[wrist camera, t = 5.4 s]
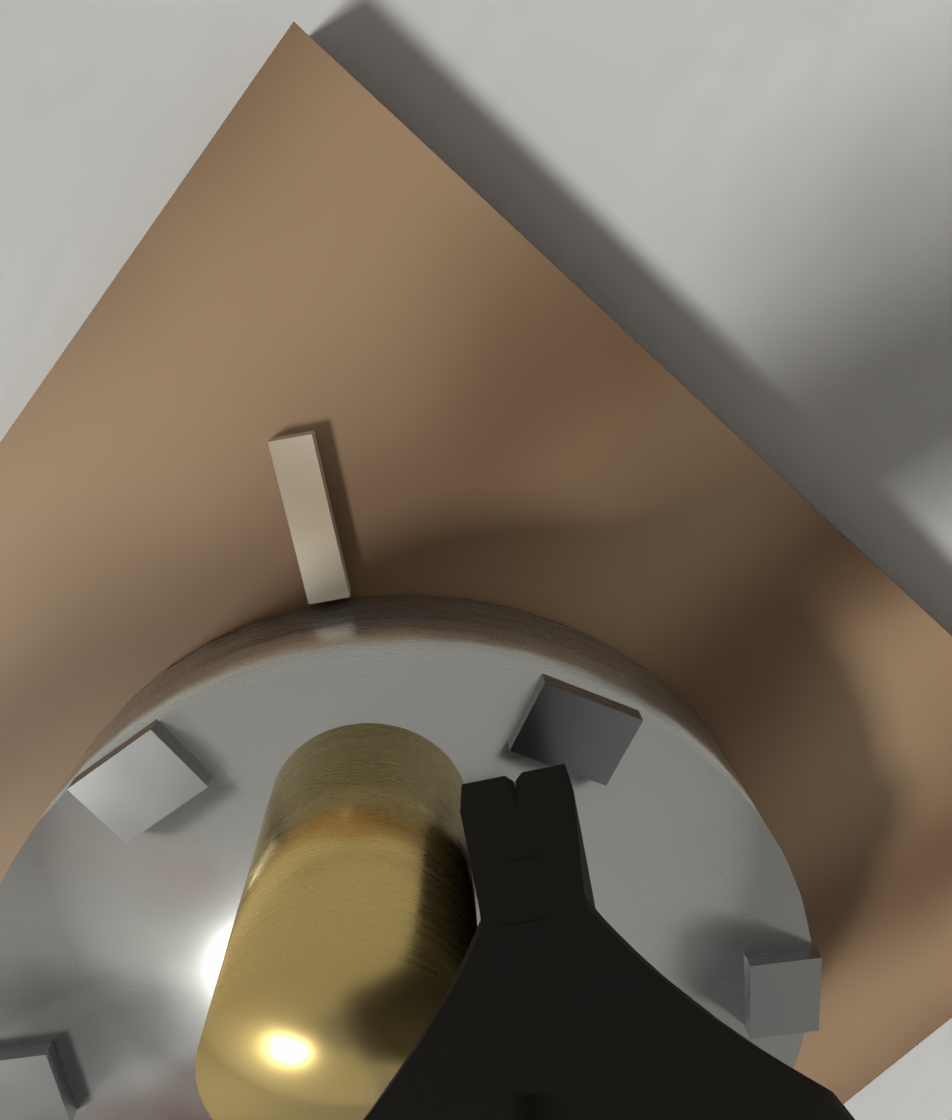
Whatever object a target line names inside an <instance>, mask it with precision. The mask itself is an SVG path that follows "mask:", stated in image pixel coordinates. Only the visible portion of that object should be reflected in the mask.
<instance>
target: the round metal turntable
mask: <svg viewBox="0 0 952 1120" xmlns="http://www.w3.org/2000/svg"><path fill="white" fill-rule="evenodd" d="M561 764H565V766H566V769H567V772H568V775H569V778H570V781H571V784H572V787H573V790H574V795H575V801H576V806H577V811H578V817H579V822H580V828H581V833H582V838H583V844H584V849H585V854H586V860H587V865H588V870H589V876H590V881H591V886H592V892H593V897H594V902H595V908H596V910H597V911H598V912H599V913H600V914H601V916H602V917H603V918H604V919H605V920H606V921H607V922H608V923H609V924H610V925H611V926H612V927H613V928H614V929H615V930H616V931H617V932H618V933H619V934H620V935H621V936H622V937H623V938H624V939H625V940H626V941H627V942H628V943H629V944H630V945H631V946H632V947H633V948H634V949H635V950H636V951H637V952H638V953H639V954H640V955H641V956H642V957H643V958H644V959H646V960H647V961H648V962H649V963H650V964H651V965H652V966H653V967H654V968H655V969H657V970H658V971H659V972H660V973H661V974H662V975H663V976H664V977H666V978H667V979H668V980H669V981H671V982H672V983H673V984H674V985H676V986H677V987H678V988H680V989H681V990H682V991H683V992H685V993H686V994H687V995H688V996H690V997H691V998H692V999H693V1000H695V1001H696V1002H697V1003H698V1004H700V1005H701V1006H702V1007H703V1008H705V1009H706V1010H707V1011H709V1012H710V1013H711V1014H712V1015H714V1016H715V1017H716V1018H717V1019H719V1020H720V1021H722V1022H723V1023H724V1024H726V1025H727V1026H729V1027H730V1028H732V1029H733V1030H735V1031H736V1032H737V1033H739V1034H740V1035H742V1036H743V1037H745V1038H746V1039H748V1040H749V1041H750V1042H752V1043H753V1044H755V1045H756V1046H758V1047H759V1048H761V1049H762V1050H764V1051H765V1052H767V1053H769V1054H770V1055H772V1056H773V1057H775V1058H777V1059H778V1060H780V1061H781V1062H783V1063H784V1064H786V1065H788V1066H790V1067H791V1068H794V1065H795V1063H796V1061H797V1058H798V1054H799V1051H800V1047H801V1044H802V1040H803V1037H804V1033H805V1032H811V1031H819V1016H820V993H821V969H822V957H821V955H820V953H819V951H818V950H817V948H816V946H815V944H811V937H810V933H809V928H808V923H807V919H806V914H805V910H804V905H803V901H802V897H801V894H800V892H799V889H798V887H797V884H796V882H795V879H794V877H793V874H792V872H791V869H790V867H789V865H788V862H787V860H786V857H785V855H784V854H783V852H782V850H781V849H780V847H779V845H778V844H777V842H776V840H775V839H774V837H773V835H772V834H771V832H770V830H769V829H768V827H767V825H766V824H765V822H764V820H763V819H762V817H761V815H760V814H759V812H758V810H757V809H756V807H755V805H754V804H753V802H752V801H751V799H750V797H749V796H748V794H747V792H746V791H745V789H744V787H743V786H742V784H741V782H740V781H739V779H738V777H737V776H736V774H735V772H734V771H733V769H732V767H731V766H730V764H729V763H728V761H727V759H726V758H725V756H724V754H723V753H722V751H721V749H720V748H719V746H718V745H717V743H716V741H715V740H714V738H713V736H712V735H711V733H710V732H709V731H708V730H707V729H706V728H705V726H704V725H703V724H702V723H701V722H700V720H699V719H698V718H697V717H696V716H695V715H694V713H693V712H692V711H691V710H690V709H689V708H688V706H687V705H686V704H685V703H684V702H683V701H682V700H681V699H680V698H679V697H678V696H677V695H676V694H674V693H673V692H672V691H671V690H670V689H669V688H668V687H666V686H665V685H664V684H663V683H662V682H661V681H660V680H658V679H657V678H656V677H655V676H654V675H653V674H652V673H650V672H649V671H648V670H646V669H645V668H643V667H642V666H640V665H639V664H637V663H636V662H634V661H633V660H631V659H629V658H628V657H626V656H625V655H623V654H622V653H620V652H619V651H617V650H616V649H614V648H613V647H611V646H610V645H608V644H605V643H603V642H601V641H599V640H597V639H595V638H593V637H591V636H589V635H587V634H584V633H582V632H580V631H578V630H576V629H574V628H572V627H570V626H568V625H566V624H563V623H560V622H557V621H554V620H551V619H548V618H544V617H541V616H538V615H535V614H532V613H529V612H526V611H523V610H520V609H517V608H512V607H507V606H502V605H496V604H491V603H486V602H481V601H476V600H470V599H465V598H451V597H436V596H421V595H399V596H381V597H363V598H353V599H348V600H342V601H337V602H331V603H325V604H320V605H314V606H309V607H304V608H300V609H297V610H294V611H291V612H288V613H284V614H281V615H278V616H275V617H271V618H268V619H265V620H262V621H258V622H255V623H253V624H250V625H248V626H246V627H244V628H242V629H240V630H237V631H235V632H233V633H231V634H229V635H226V636H224V637H222V638H220V639H218V640H215V641H213V642H211V643H209V644H207V645H205V646H203V647H202V648H200V649H199V650H197V651H196V652H194V653H192V654H191V655H189V656H188V657H186V658H184V659H183V660H181V661H180V662H178V663H176V664H175V665H173V666H172V667H170V668H168V669H167V670H165V671H164V672H163V673H161V674H160V675H159V676H158V677H157V678H155V679H154V680H153V681H152V682H151V683H149V684H148V685H147V686H146V687H145V688H144V689H142V690H141V691H140V692H139V693H138V694H136V695H135V696H134V697H133V698H132V699H130V700H129V701H128V702H127V703H126V704H125V705H124V706H123V708H122V709H121V710H120V711H119V712H118V713H117V714H116V715H115V717H114V718H113V719H112V720H111V721H110V722H109V723H108V724H107V726H106V727H105V728H104V729H103V730H102V731H101V732H100V733H99V734H98V736H97V737H96V738H95V740H94V741H93V743H92V744H91V745H90V747H89V748H88V750H87V751H86V753H85V754H84V756H83V757H82V759H81V760H80V762H79V763H78V764H77V766H76V767H75V769H74V770H73V772H72V773H71V775H70V776H69V778H68V779H67V780H66V782H65V783H64V785H63V786H62V788H61V789H60V791H59V792H58V794H57V795H56V796H55V798H54V799H53V801H52V802H51V804H50V805H49V807H48V808H47V810H46V811H45V812H44V814H43V815H42V817H41V818H40V820H39V821H38V823H37V824H36V826H35V827H34V829H33V830H32V832H31V833H30V835H29V836H28V838H27V840H26V841H25V843H24V844H23V846H22V847H21V849H20V850H19V852H18V854H17V855H16V857H15V858H14V860H13V861H12V863H11V864H10V866H9V868H8V870H7V873H6V875H5V877H4V880H3V882H2V884H1V886H0V1120H363V1119H364V1118H365V1116H366V1115H367V1114H368V1113H369V1111H370V1110H371V1109H372V1107H373V1106H374V1105H375V1103H376V1102H377V1100H378V1099H379V1097H380V1096H381V1094H382V1093H383V1092H384V1090H385V1089H386V1087H387V1086H388V1084H389V1083H390V1082H391V1080H392V1079H393V1077H394V1076H395V1074H396V1073H397V1071H398V1070H399V1069H400V1067H401V1066H402V1064H403V1063H404V1061H405V1060H406V1059H407V1057H408V1056H409V1054H410V1053H411V1051H412V1050H413V1048H414V1047H415V1045H416V1044H417V1042H418V1040H419V1039H420V1037H421V1036H422V1034H423V1032H424V1031H425V1029H426V1027H427V1026H428V1024H429V1022H430V1021H431V1019H432V1017H433V1015H434V1013H435V1012H436V1010H437V1008H438V1006H439V1004H440V1003H441V1001H442V999H443V997H444V996H445V994H446V992H447V990H448V988H449V987H450V985H451V983H452V981H453V979H454V977H455V975H456V973H457V971H458V969H459V967H460V965H461V963H462V961H463V959H464V957H465V954H466V952H467V950H468V948H469V946H470V943H471V941H472V939H473V936H474V934H475V932H476V929H477V927H478V925H479V922H480V920H481V918H480V911H479V905H478V900H477V895H476V889H475V884H474V879H473V874H472V869H471V864H470V859H469V854H468V849H467V844H466V839H465V834H464V829H463V824H462V819H461V814H460V803H461V786H462V784H466V783H471V782H476V781H481V780H486V779H491V778H496V777H501V776H506V777H508V778H509V779H511V780H512V781H514V783H515V781H516V779H517V778H518V777H519V775H520V774H521V773H522V772H526V771H531V770H536V769H541V768H546V767H551V766H556V765H561Z"/></svg>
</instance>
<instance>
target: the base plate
mask: <svg viewBox="0 0 952 1120" xmlns="http://www.w3.org/2000/svg"><path fill="white" fill-rule="evenodd" d="M399 595H421V596H436V597H451V598H465V599H470V600H476V601H481V602H486V603H491V604H496V605H502V606H507V607H512V608H517V609H520V610H523V611H526V612H529V613H532V614H535V615H538V616H541V617H544V618H548V619H551V620H554V621H557V622H560V623H563V624H566V625H568V626H570V627H572V628H574V629H576V630H578V631H580V632H582V633H584V634H587V635H589V636H591V637H593V638H595V639H597V640H599V641H601V642H603V643H605V644H608V645H610V646H611V647H613V648H614V649H616V650H617V651H619V652H620V653H622V654H623V655H625V656H626V657H628V658H629V659H631V660H633V661H634V662H636V663H637V664H639V665H640V666H642V667H643V668H645V669H646V670H648V671H649V672H650V673H652V674H653V675H654V676H655V677H656V678H657V679H658V680H660V681H661V682H662V683H663V684H664V685H665V686H666V687H668V688H669V689H670V690H671V691H672V692H673V693H674V694H676V695H677V696H678V697H679V698H680V699H681V700H682V701H683V702H684V703H685V704H686V705H687V706H688V708H689V709H690V710H691V711H692V712H693V713H694V715H695V716H696V717H697V718H698V719H699V720H700V722H701V723H702V724H703V725H704V726H705V728H706V729H707V730H708V731H709V732H710V733H711V735H712V736H713V738H714V740H715V741H716V743H717V745H718V746H719V748H720V749H721V751H722V753H723V754H724V756H725V758H726V759H727V761H728V763H729V764H730V766H731V767H732V769H733V771H734V772H735V774H736V776H737V777H738V779H739V781H740V782H741V784H742V786H743V787H744V789H745V791H746V792H747V794H748V796H749V797H750V799H751V801H752V802H753V804H754V805H755V807H756V809H757V810H758V812H759V814H760V815H761V817H762V819H763V820H764V822H765V824H766V825H767V827H768V829H769V830H770V832H771V834H772V835H773V837H774V839H775V840H776V842H777V844H778V845H779V847H780V849H781V850H782V852H783V854H784V855H785V857H786V860H787V862H788V865H789V867H790V869H791V872H792V874H793V877H794V879H795V882H796V884H797V887H798V889H799V892H800V894H801V897H802V901H803V905H804V910H805V914H806V919H807V923H808V928H809V933H810V937H811V944H815V946H816V948H817V950H818V951H819V953H820V955H821V957H822V969H821V993H820V1016H819V1031H811V1032H805V1033H804V1037H803V1040H802V1044H801V1047H800V1051H799V1054H798V1058H797V1061H796V1063H795V1065H794V1068H793V1069H795V1070H796V1071H798V1072H800V1073H802V1074H803V1075H805V1076H807V1077H808V1078H810V1079H812V1080H813V1081H815V1082H817V1083H819V1084H820V1085H822V1086H824V1087H825V1088H827V1089H829V1090H831V1091H832V1092H833V1093H834V1094H835V1095H836V1096H837V1098H838V1099H839V1100H840V1101H841V1103H842V1104H844V1103H845V1102H846V1101H848V1100H849V1099H850V1098H851V1097H853V1096H854V1095H855V1094H856V1093H858V1092H859V1091H860V1090H861V1089H863V1088H864V1087H865V1086H866V1085H868V1084H869V1083H870V1082H871V1081H873V1080H874V1079H875V1078H876V1077H878V1076H879V1075H880V1074H881V1073H883V1072H884V1071H885V1070H886V1069H888V1068H889V1067H890V1066H892V1065H893V1064H894V1063H895V1062H897V1061H898V1060H899V1059H900V1058H902V1057H903V1056H904V1055H905V1054H907V1053H908V1052H909V1051H910V1050H912V1049H913V1048H914V1047H915V1046H917V1045H918V1044H919V1043H920V1042H922V1041H923V1040H924V1039H925V1038H927V1037H928V1036H929V1035H930V1034H932V1033H933V1032H934V1031H935V1030H937V1029H938V1028H939V1027H940V1026H942V1025H943V1024H944V1023H945V1022H947V1021H948V1020H949V1019H950V1018H952V636H951V635H950V634H949V633H948V632H947V631H946V630H945V629H943V628H942V627H941V626H940V625H939V624H938V623H937V622H936V621H935V620H934V619H933V618H932V617H931V616H930V615H928V614H927V613H926V612H925V611H924V610H923V609H922V608H921V607H920V606H919V605H918V604H917V603H916V602H915V601H913V600H912V599H911V598H910V597H909V596H908V595H907V594H906V593H905V592H904V591H903V590H902V589H901V588H900V587H898V586H897V585H896V584H895V583H894V582H893V581H892V580H891V579H890V578H889V577H888V576H887V575H886V574H885V573H884V572H882V571H881V570H880V569H879V568H878V567H877V566H876V565H875V564H874V563H873V562H872V561H871V560H870V559H869V558H867V557H866V556H865V555H864V554H863V553H862V552H861V551H860V550H859V549H858V548H857V547H856V546H855V545H854V544H852V543H851V542H850V541H849V540H848V539H847V538H846V537H845V536H844V535H843V534H842V533H841V532H840V531H839V530H837V529H836V528H835V527H834V526H833V525H832V524H831V523H830V522H829V521H828V520H827V519H826V518H825V517H824V516H822V515H821V514H820V513H819V512H818V511H817V510H816V509H815V508H814V507H813V506H812V505H811V504H810V503H809V502H807V501H806V500H805V499H804V498H803V497H802V496H801V495H800V494H799V493H798V492H797V491H796V490H795V489H794V488H793V487H791V486H790V485H789V484H788V483H787V482H786V481H785V480H784V479H783V478H782V477H781V476H780V475H779V474H778V473H776V472H775V471H774V470H773V469H772V468H771V467H770V466H769V465H768V464H767V463H766V462H765V461H764V460H763V459H761V458H760V457H759V456H758V455H757V454H756V453H755V452H754V451H753V450H752V449H751V448H750V447H749V446H748V445H746V444H745V443H744V442H743V441H742V440H741V439H740V438H739V437H738V436H737V435H736V434H735V433H734V432H733V431H731V430H730V429H729V428H728V427H727V426H726V425H725V424H724V423H723V422H722V421H721V420H720V419H719V418H718V417H716V416H715V415H714V414H713V413H712V412H711V411H710V410H709V409H708V408H707V407H706V406H705V405H704V404H703V403H701V402H700V401H699V400H698V399H697V398H696V397H695V396H694V395H693V394H692V393H691V392H690V391H689V390H688V389H687V388H685V387H684V386H683V385H682V384H681V383H680V382H679V381H678V380H677V379H676V378H675V377H674V376H673V375H672V374H670V373H669V372H668V371H667V370H666V369H665V368H664V367H663V366H662V365H661V364H660V363H659V362H658V361H657V360H655V359H654V358H653V357H652V356H651V355H650V354H649V353H648V352H647V351H646V350H645V349H644V348H643V347H642V346H640V345H639V344H638V343H637V342H636V341H635V340H634V339H633V338H632V337H631V336H630V335H629V334H628V333H627V332H625V331H624V330H623V329H622V328H621V327H620V326H619V325H618V324H617V323H616V322H615V321H614V320H613V319H612V318H610V317H609V316H608V315H607V314H606V313H605V312H604V311H603V310H602V309H601V308H600V307H599V306H598V305H597V304H596V303H594V302H593V301H592V300H591V299H590V298H589V297H588V296H587V295H586V294H585V293H584V292H583V291H582V290H581V289H579V288H578V287H577V286H576V285H575V284H574V283H573V282H572V281H571V280H570V279H569V278H568V277H567V276H566V275H564V274H563V273H562V272H561V271H560V270H559V269H558V268H557V267H556V266H555V265H554V264H553V263H552V262H551V261H549V260H548V259H547V258H546V257H545V256H544V255H543V254H542V253H541V252H540V251H539V250H538V249H537V248H536V247H534V246H533V245H532V244H531V243H530V242H529V241H528V240H527V239H526V238H525V237H524V236H523V235H522V234H521V233H519V232H518V231H517V230H516V229H515V228H514V227H513V226H512V225H511V224H510V223H509V222H508V221H507V220H506V219H504V218H503V217H502V216H501V215H500V214H499V213H498V212H497V211H496V210H495V209H494V208H493V207H492V206H491V205H490V204H488V203H487V202H486V201H485V200H484V199H483V198H482V197H481V196H480V195H479V194H478V193H477V192H476V191H475V190H473V189H472V188H471V187H470V186H469V185H468V184H467V183H466V182H465V181H464V180H463V179H462V178H461V177H460V176H458V175H457V174H456V173H455V172H454V171H453V170H452V169H451V168H450V167H449V166H448V165H447V164H446V163H445V162H443V161H442V160H441V159H440V158H439V157H438V156H437V155H436V154H435V153H434V152H433V151H432V150H431V149H430V148H428V147H427V146H426V145H425V144H424V143H423V142H422V141H421V140H420V139H419V138H418V137H417V136H416V135H415V134H413V133H412V132H411V131H410V130H409V129H408V128H407V127H406V126H405V125H404V124H403V123H402V122H401V121H400V120H398V119H397V118H396V117H395V116H394V115H393V114H392V113H391V112H390V111H389V110H388V109H387V108H386V107H385V106H384V105H382V104H381V103H380V102H379V101H378V100H377V99H376V98H375V97H374V96H373V95H372V94H371V93H370V92H369V91H367V90H366V89H365V88H364V87H363V86H362V85H361V84H360V83H359V82H358V81H357V80H356V79H355V78H354V77H352V76H351V75H350V74H349V73H348V72H347V71H346V70H345V69H344V68H343V67H342V66H341V65H340V64H339V63H337V62H336V61H335V60H334V59H333V58H332V57H331V56H330V55H329V54H328V53H327V52H326V51H325V50H324V49H322V48H321V47H320V46H319V45H318V44H317V43H316V42H315V41H314V40H313V39H312V38H311V37H310V36H309V35H307V34H306V33H305V32H304V31H303V30H302V29H301V28H300V27H299V26H298V25H297V24H296V23H295V22H293V23H292V25H291V26H290V28H289V29H288V31H287V32H286V33H285V35H284V36H283V38H282V39H281V41H280V42H279V43H278V45H277V46H276V48H275V49H274V51H273V52H272V54H271V55H270V56H269V58H268V59H267V61H266V62H265V64H264V65H263V66H262V68H261V69H260V71H259V72H258V74H257V75H256V76H255V78H254V79H253V81H252V82H251V84H250V85H249V87H248V88H247V89H246V91H245V92H244V94H243V95H242V97H241V98H240V99H239V101H238V102H237V104H236V105H235V107H234V108H233V109H232V111H231V112H230V114H229V115H228V117H227V118H226V120H225V121H224V122H223V124H222V125H221V127H220V128H219V130H218V131H217V132H216V134H215V135H214V137H213V138H212V140H211V141H210V142H209V144H208V145H207V147H206V148H205V150H204V151H203V153H202V154H201V155H200V157H199V158H198V160H197V161H196V163H195V164H194V165H193V167H192V168H191V170H190V171H189V173H188V174H187V175H186V177H185V178H184V180H183V181H182V183H181V184H180V186H179V187H178V188H177V190H176V191H175V193H174V194H173V196H172V197H171V198H170V200H169V201H168V203H167V204H166V206H165V207H164V208H163V210H162V211H161V213H160V214H159V216H158V217H157V219H156V220H155V221H154V223H153V224H152V226H151V227H150V229H149V230H148V231H147V233H146V234H145V236H144V237H143V239H142V240H141V241H140V243H139V244H138V246H137V247H136V249H135V250H134V252H133V253H132V254H131V256H130V257H129V259H128V260H127V262H126V263H125V264H124V266H123V267H122V269H121V270H120V272H119V273H118V275H117V276H116V277H115V279H114V280H113V282H112V283H111V285H110V286H109V287H108V289H107V290H106V292H105V293H104V295H103V296H102V297H101V299H100V300H99V302H98V303H97V305H96V306H95V308H94V309H93V310H92V312H91V313H90V315H89V316H88V318H87V319H86V320H85V322H84V323H83V325H82V326H81V328H80V329H79V330H78V332H77V333H76V335H75V336H74V338H73V339H72V341H71V342H70V343H69V345H68V346H67V348H66V349H65V351H64V352H63V353H62V355H61V356H60V358H59V359H58V361H57V362H56V363H55V365H54V366H53V368H52V369H51V371H50V372H49V374H48V375H47V376H46V378H45V379H44V381H43V382H42V384H41V385H40V386H39V388H38V389H37V391H36V392H35V394H34V395H33V396H32V398H31V399H30V401H29V402H28V404H27V405H26V407H25V408H24V409H23V411H22V412H21V414H20V415H19V417H18V418H17V419H16V421H15V422H14V424H13V425H12V427H11V428H10V429H9V431H8V432H7V434H6V435H5V437H4V438H3V440H2V441H1V442H0V886H1V884H2V882H3V880H4V877H5V875H6V873H7V870H8V868H9V866H10V864H11V863H12V861H13V860H14V858H15V857H16V855H17V854H18V852H19V850H20V849H21V847H22V846H23V844H24V843H25V841H26V840H27V838H28V836H29V835H30V833H31V832H32V830H33V829H34V827H35V826H36V824H37V823H38V821H39V820H40V818H41V817H42V815H43V814H44V812H45V811H46V810H47V808H48V807H49V805H50V804H51V802H52V801H53V799H54V798H55V796H56V795H57V794H58V792H59V791H60V789H61V788H62V786H63V785H64V783H65V782H66V780H67V779H68V778H69V776H70V775H71V773H72V772H73V770H74V769H75V767H76V766H77V764H78V763H79V762H80V760H81V759H82V757H83V756H84V754H85V753H86V751H87V750H88V748H89V747H90V745H91V744H92V743H93V741H94V740H95V738H96V737H97V736H98V734H99V733H100V732H101V731H102V730H103V729H104V728H105V727H106V726H107V724H108V723H109V722H110V721H111V720H112V719H113V718H114V717H115V715H116V714H117V713H118V712H119V711H120V710H121V709H122V708H123V706H124V705H125V704H126V703H127V702H128V701H129V700H130V699H132V698H133V697H134V696H135V695H136V694H138V693H139V692H140V691H141V690H142V689H144V688H145V687H146V686H147V685H148V684H149V683H151V682H152V681H153V680H154V679H155V678H157V677H158V676H159V675H160V674H161V673H163V672H164V671H165V670H167V669H168V668H170V667H172V666H173V665H175V664H176V663H178V662H180V661H181V660H183V659H184V658H186V657H188V656H189V655H191V654H192V653H194V652H196V651H197V650H199V649H200V648H202V647H203V646H205V645H207V644H209V643H211V642H213V641H215V640H218V639H220V638H222V637H224V636H226V635H229V634H231V633H233V632H235V631H237V630H240V629H242V628H244V627H246V626H248V625H250V624H253V623H255V622H258V621H262V620H265V619H268V618H271V617H275V616H278V615H281V614H284V613H288V612H291V611H294V610H297V609H300V608H304V607H309V606H314V605H320V604H325V603H331V602H337V601H342V600H348V599H353V598H363V597H381V596H399Z"/></svg>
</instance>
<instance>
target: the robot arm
mask: <svg viewBox="0 0 952 1120" xmlns="http://www.w3.org/2000/svg"><path fill="white" fill-rule="evenodd" d="M460 814H461V819H462V824H463V829H464V834H465V839H466V844H467V849H468V854H469V859H470V864H471V869H472V874H473V879H474V884H475V889H476V895H477V900H478V905H479V911H480V918H481V920H480V922H479V925H478V927H477V929H476V932H475V934H474V936H473V939H472V941H471V943H470V946H469V948H468V950H467V952H466V954H465V957H464V959H463V961H462V963H461V965H460V967H459V969H458V971H457V973H456V975H455V977H454V979H453V981H452V983H451V985H450V987H449V988H448V990H447V992H446V994H445V996H444V997H443V999H442V1001H441V1003H440V1004H439V1006H438V1008H437V1010H436V1012H435V1013H434V1015H433V1017H432V1019H431V1021H430V1022H429V1024H428V1026H427V1027H426V1029H425V1031H424V1032H423V1034H422V1036H421V1037H420V1039H419V1040H418V1042H417V1044H416V1045H415V1047H414V1048H413V1050H412V1051H411V1053H410V1054H409V1056H408V1057H407V1059H406V1060H405V1061H404V1063H403V1064H402V1066H401V1067H400V1069H399V1070H398V1071H397V1073H396V1074H395V1076H394V1077H393V1079H392V1080H391V1082H390V1083H389V1084H388V1086H387V1087H386V1089H385V1090H384V1092H383V1093H382V1094H381V1096H380V1097H379V1099H378V1100H377V1102H376V1103H375V1105H374V1106H373V1107H372V1109H371V1110H370V1111H369V1113H368V1114H367V1115H366V1116H365V1118H364V1119H363V1120H855V1119H854V1118H853V1117H852V1115H851V1114H850V1113H849V1111H848V1110H847V1109H846V1108H845V1106H844V1105H843V1104H842V1103H841V1101H840V1100H839V1099H838V1098H837V1096H836V1095H835V1094H834V1093H833V1092H832V1091H831V1090H829V1089H827V1088H825V1087H824V1086H822V1085H820V1084H819V1083H817V1082H815V1081H813V1080H812V1079H810V1078H808V1077H807V1076H805V1075H803V1074H802V1073H800V1072H798V1071H796V1070H795V1069H793V1068H791V1067H790V1066H788V1065H786V1064H784V1063H783V1062H781V1061H780V1060H778V1059H777V1058H775V1057H773V1056H772V1055H770V1054H769V1053H767V1052H765V1051H764V1050H762V1049H761V1048H759V1047H758V1046H756V1045H755V1044H753V1043H752V1042H750V1041H749V1040H748V1039H746V1038H745V1037H743V1036H742V1035H740V1034H739V1033H737V1032H736V1031H735V1030H733V1029H732V1028H730V1027H729V1026H727V1025H726V1024H724V1023H723V1022H722V1021H720V1020H719V1019H717V1018H716V1017H715V1016H714V1015H712V1014H711V1013H710V1012H709V1011H707V1010H706V1009H705V1008H703V1007H702V1006H701V1005H700V1004H698V1003H697V1002H696V1001H695V1000H693V999H692V998H691V997H690V996H688V995H687V994H686V993H685V992H683V991H682V990H681V989H680V988H678V987H677V986H676V985H674V984H673V983H672V982H671V981H669V980H668V979H667V978H666V977H664V976H663V975H662V974H661V973H660V972H659V971H658V970H657V969H655V968H654V967H653V966H652V965H651V964H650V963H649V962H648V961H647V960H646V959H644V958H643V957H642V956H641V955H640V954H639V953H638V952H637V951H636V950H635V949H634V948H633V947H632V946H631V945H630V944H629V943H628V942H627V941H626V940H625V939H624V938H623V937H622V936H621V935H620V934H619V933H618V932H617V931H616V930H615V929H614V928H613V927H612V926H611V925H610V924H609V923H608V922H607V921H606V920H605V919H604V918H603V917H602V916H601V914H600V913H599V912H598V911H597V910H596V908H595V902H594V897H593V892H592V886H591V881H590V876H589V870H588V865H587V860H586V854H585V849H584V844H583V838H582V833H581V828H580V822H579V817H578V811H577V806H576V801H575V795H574V790H573V787H572V784H571V781H570V778H569V775H568V772H567V769H566V766H565V764H561V765H556V766H551V767H546V768H541V769H536V770H531V771H526V772H522V773H521V774H520V775H519V777H518V778H517V779H516V781H515V783H514V781H512V780H511V779H509V778H508V777H506V776H501V777H496V778H491V779H486V780H481V781H476V782H471V783H466V784H462V786H461V803H460Z"/></svg>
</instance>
